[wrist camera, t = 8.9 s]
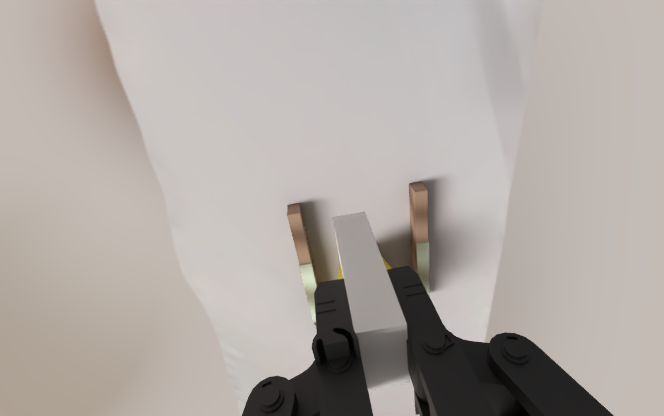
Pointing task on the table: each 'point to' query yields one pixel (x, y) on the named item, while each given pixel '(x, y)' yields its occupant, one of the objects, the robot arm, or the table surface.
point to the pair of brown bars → (418, 242)
